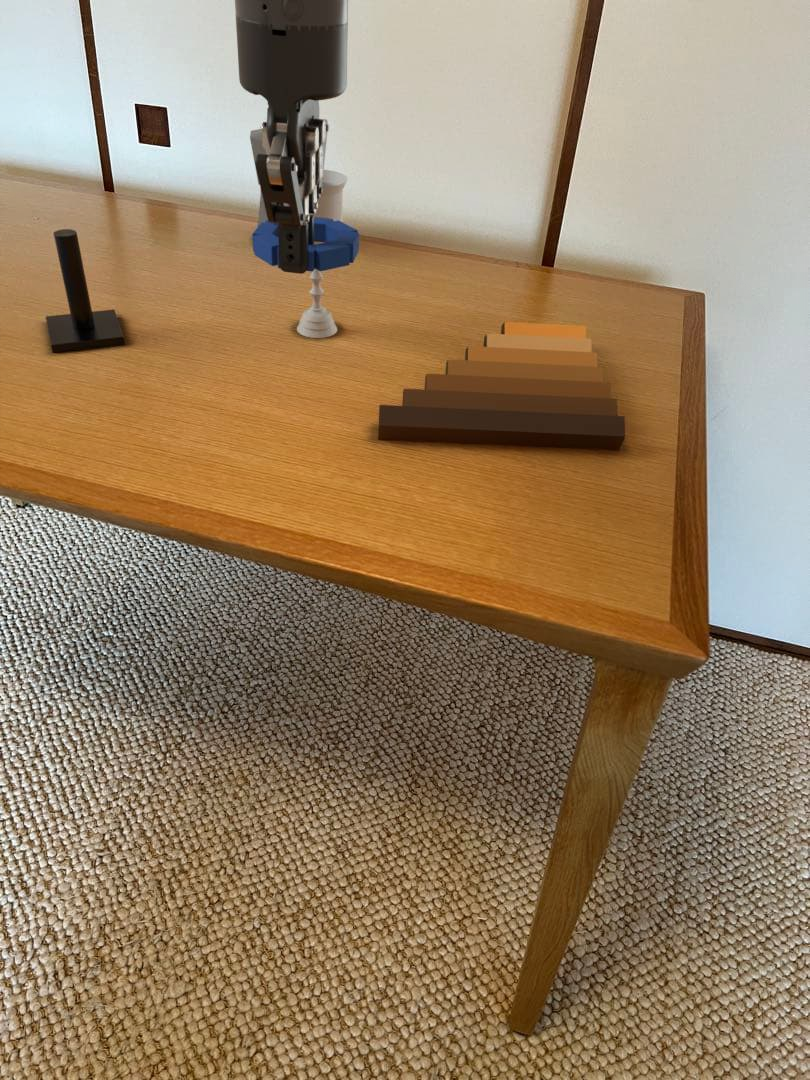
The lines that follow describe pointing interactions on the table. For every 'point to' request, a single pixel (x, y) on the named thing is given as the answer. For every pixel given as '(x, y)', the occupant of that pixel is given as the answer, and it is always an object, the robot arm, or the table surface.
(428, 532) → the table surface
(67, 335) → the black peg stand
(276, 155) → the robot arm
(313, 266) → the ring
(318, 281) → the chalice
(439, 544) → the table surface
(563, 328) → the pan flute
